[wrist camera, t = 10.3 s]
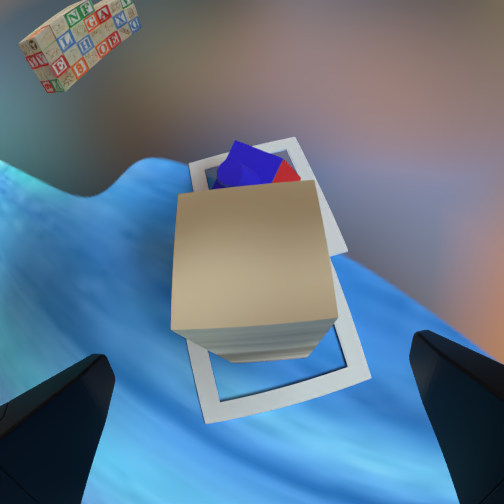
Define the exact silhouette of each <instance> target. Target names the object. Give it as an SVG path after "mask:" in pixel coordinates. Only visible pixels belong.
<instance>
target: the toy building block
mask: <svg viewBox="0 0 504 504" xmlns="http://www.w3.org/2000/svg"><path fill="white" fill-rule="evenodd" d="M300 180H301V177H300V176H299V175H298V174H297V173H296V172H295V171H294V170H293V169H292V167H291V166H290V165H289V164H288V163H287V162H286V161H285V160H284V159H282V158H280V157H278V156H275V155H272V154H270V153H267V152H265V151H262V150H260V149H257V148H254V147H252V146H249V145H246V144H244V143H241V142H238V141H234V143H233V145H232V147H231V150H230V152H229V154H228V156H227V158H226V160H225V161H223V162H222V163H221V164H220V166H219V167H218V170H217V179H216V181H215V183H214V186H213V188H212V190H213V189H221V188H230V187H239V186H248V185H258V184H269V183H280V182H292V181H300Z"/></svg>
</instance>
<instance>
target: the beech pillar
mask: <svg viewBox="0 0 504 504" xmlns="http://www.w3.org/2000/svg"><path fill="white" fill-rule="evenodd" d="M337 319H338V310H337V303H336V296H335V289H334V283H333V277H332V270H331V264H330V258H329V252H328V247H327V241H326V236H325V230H324V225H323V220H322V215H321V210H320V205H319V200H318V195H317V190H316V186H315V181H314V180H305V181H292V182H280V183H269V184H258V185H248V186H239V187H230V188H221V189H213V190H205V191H197V192H190V193H182V194H178V203H177V214H176V227H175V241H174V257H173V276H172V302H171V330H172V331H174V332H175V333H177V334H179V335H181V336H183V337H184V338H186V339H188V340H190V341H192V342H193V343H195V344H197V345H199V346H201V347H203V348H205V349H207V350H208V351H210V352H212V353H214V354H216V355H218V356H220V357H222V358H224V359H226V360H228V361H230V362H232V363H246V362H262V361H276V360H287V359H298V358H307V357H308V356H309V354H310V353H311V352H312V351H313V349H314V348H315V347H316V346H317V345H318V343H319V342H320V341H321V339H322V338H323V337H324V336H325V334H326V333H327V332H328V331H329V329H330V328H331V327H332V325H333V324H334V323H335V321H336V320H337Z"/></svg>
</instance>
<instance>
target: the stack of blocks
mask: <svg viewBox="0 0 504 504" xmlns="http://www.w3.org/2000/svg"><path fill="white" fill-rule="evenodd" d="M140 28H141V24H140V21H139V18H138V16H137V12H136V9H135V6H134V4H133V2H132V0H102V1H101V2H99V3H97V4H95V5H94V6H93V4H92V2H91V0H83V1H81V2H78V3H75V4H73V5H70V6H68V7H67V8H65V9H64V10H62V11H61V12H59V13H58V14H56V15H55V16H53V17H52V18H50V19H49V20H48V21H46V22H45V23H44V24H43V25H41V26H40V27H39V28H37V29H36V30H35V31H34V32H32V33H31V34H29V35H28V36H27V37H26V38H25V39H23V40H22V41H21V42H20V43H19V45H20V47H21V49H22V51H23V53H24V54H25V56H26V57H25V58H26V59H27V61H28V63H29V64H30V66H31V68H32V69H33V70H34V72H35V74H36V75H37V77H38V78H39V80H40V82H41V84H42V85H43V87H44V88H45V90H46V92H47V93H56V92H66V91H67V90H68V89H69V88H70V87H71V86H72V85H73V84H74V83H75V82H76V81H77V80H78V79H79V78H80V77H82V75H84V74H85V73H86V72H87V71H88V70H89V69H90V68H91V67H92V66H94V65H95V64H96V63H97V62H98V61H99V60H100V59H102V58H103V57H104V56H105V55H106V54H107V53H109V52H110V51H111V50H112V49H114V48H115V47H116V46H117V45H119V44H120V43H121V42H123V41H124V40H125V39H126V38H128V37H129V36H130V35H132V34H133V33H135V32H136V31H137V30H139V29H140Z"/></svg>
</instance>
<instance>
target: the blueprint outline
mask: <svg viewBox="0 0 504 504" xmlns="http://www.w3.org/2000/svg"><path fill="white" fill-rule="evenodd" d="M252 147H254V148H257V149H260V150H262V151H265V152H267V153H270V154H271V153H275V152H279V151H284V150H286V151H287V153H288V155H289V157H290V159H291V161H292V164H293V166H294V168H295V170H296V173H297V174H298V175H299V176H300V177H301V180H300V181H305V180H314V181H315V186H316V190H317V195H318V200H319V205H320V210H321V215H322V220H323V225H324V230H325V236H326V241H327V247H328V252H329V258H330V257H331V256H334V255H338V254H341V253H345V252H347V251H348V249H347V247H346V244H345V242H344V240H343V238H342V235H341V233H340V230H339V228H338V226H337V223H336V221H335V219H334V217H333V214H332V212H331V210H330V208H329V206H328V203H327V201H326V199H325V197H324V195H323V193H322V190H321V188H320V186H319V184H318V182H317V180H316V178H315V176H314V174H313V172H312V170H311V168H310V166H309V164H308V162H307V160H306V158H305V156H304V154H303V152H302V150H301V148H300V146H299V144H298V142H297V140H296V138H295V137H292V138H287V139H283V140H278V141H273V142H268V143H264V144H260V145H256V146H252ZM228 154H229V152H228V153H224V154H220V155H216V156H213V157H209V158H206V159H202V160H199V161H195V162H192V163H189V168H190V174H191V180H192V185H193V191H194V192H197V191H205V190H209V188H208V183H207V178H206V174H205V170H209V169H212V168H216V167H219V166H220V164H221V163H222V162H223V161H225V160H226V158H227V156H228ZM330 264H331V270H332V277H333V283H334V289H335V296H336V303H337V310H338V319H337V320H336V321H335V323H334V326H335V329H336V332H337V335H338V338H339V341H340V344H341V347H342V351H343V354H344V357H345V360H346V363H347V367H346V368H343V369H341V370H338V371H335V372H332V373H329V374H326V375H323V376H319V377H316V378H313V379H310V380H307V381H303V382H300V383H297V384H293V385H290V386H286V387H282V388H279V389H275V390H271V391H267V392H263V393H259V394H255V395H251V396H247V397H243V398H238V399H234V400H229V401H224V402H220V399H219V395H218V391H217V387H216V383H215V379H214V375H213V370H212V366H211V362H210V357H209V353H208V350H207V349H205V348H203V347H201V346H199V345H197V344H195V343H193V342H192V341H190V340H188V339H186V341H187V345H188V350H189V355H190V360H191V365H192V369H193V374H194V378H195V383H196V387H197V391H198V395H199V400H200V404H201V408H202V412H203V416H204V420H205V424H209V423H215V422H220V421H226V420H231V419H236V418H240V417H245V416H249V415H254V414H258V413H262V412H266V411H270V410H274V409H278V408H282V407H286V406H289V405H293V404H296V403H300V402H303V401H307V400H310V399H313V398H316V397H320V396H323V395H326V394H329V393H332V392H335V391H338V390H341V389H343V388H346V387H349V386H352V385H355V384H357V383H360V382H363V381H365V380H368V379H370V378H371V375H370V371H369V368H368V365H367V362H366V359H365V355H364V352H363V349H362V346H361V343H360V340H359V337H358V334H357V331H356V328H355V325H354V322H353V319H352V316H351V314H350V311H349V308H348V305H347V302H346V299H345V297H344V294H343V291H342V288H341V286H340V283H339V280H338V278H337V275H336V272H335V270H334V267H333V264H332V262H331V259H330Z"/></svg>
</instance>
